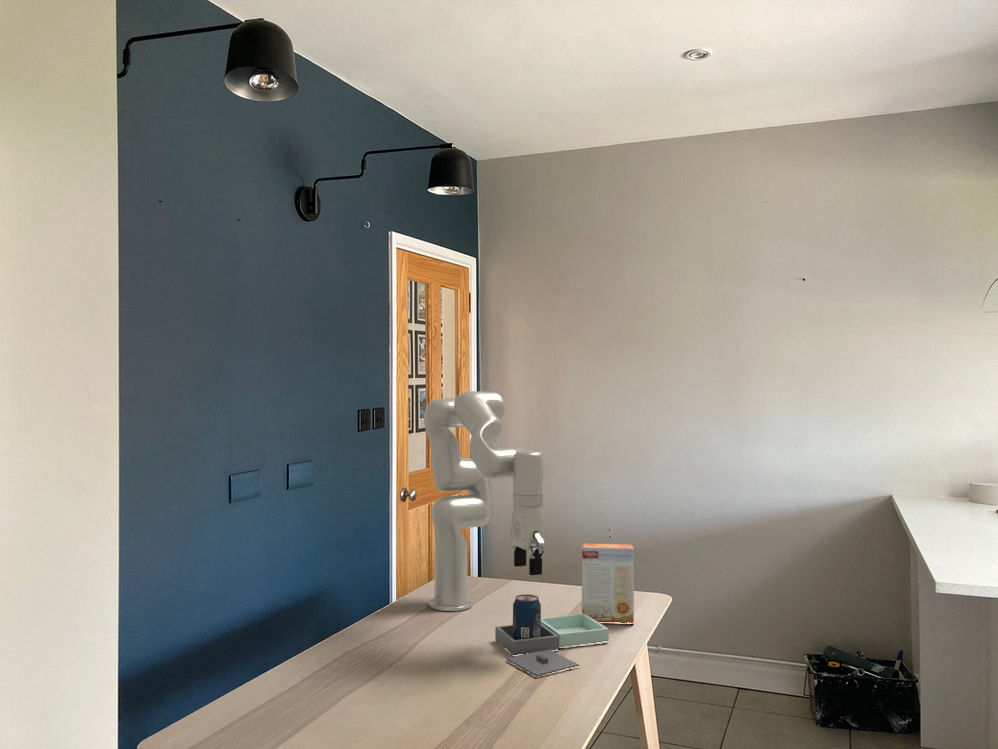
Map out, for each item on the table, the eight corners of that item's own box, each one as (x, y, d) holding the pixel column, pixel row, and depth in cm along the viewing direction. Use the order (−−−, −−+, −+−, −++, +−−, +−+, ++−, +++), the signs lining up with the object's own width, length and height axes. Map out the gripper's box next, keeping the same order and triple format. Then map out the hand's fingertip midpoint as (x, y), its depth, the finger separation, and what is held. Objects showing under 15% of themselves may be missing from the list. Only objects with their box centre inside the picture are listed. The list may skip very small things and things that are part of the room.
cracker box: (632, 619, 218) (633, 543, 218) (633, 626, 212) (634, 548, 212) (581, 617, 219) (582, 541, 219) (581, 624, 213) (582, 546, 213)
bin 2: (537, 632, 206) (537, 618, 206) (583, 627, 211) (584, 613, 211) (559, 649, 193) (559, 634, 193) (608, 643, 198) (608, 628, 198)
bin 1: (495, 640, 199) (495, 626, 199) (539, 635, 203) (539, 621, 203) (513, 656, 188) (513, 641, 188) (558, 651, 192) (559, 636, 192)
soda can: (514, 640, 199) (515, 593, 199) (542, 642, 198) (542, 594, 198) (510, 649, 192) (511, 600, 192) (538, 651, 191) (539, 602, 191)
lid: (506, 661, 184) (506, 653, 184) (547, 652, 191) (547, 644, 191) (536, 678, 174) (536, 670, 174) (578, 668, 181) (579, 660, 181)
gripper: (501, 497, 202) (501, 564, 202) (527, 506, 186) (527, 579, 186) (528, 495, 205) (528, 561, 205) (556, 505, 189) (556, 577, 189)
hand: (527, 570), depth 195 cm, fingers open, 9 cm apart
